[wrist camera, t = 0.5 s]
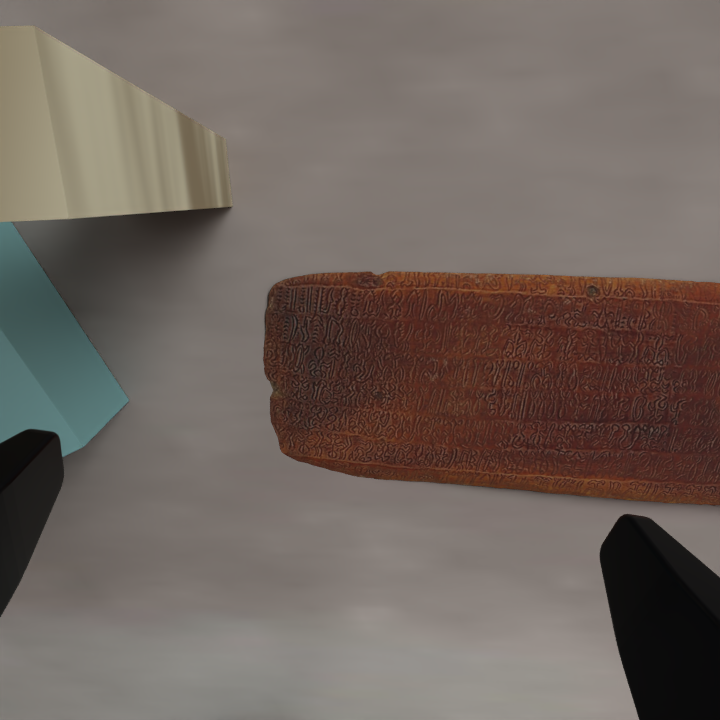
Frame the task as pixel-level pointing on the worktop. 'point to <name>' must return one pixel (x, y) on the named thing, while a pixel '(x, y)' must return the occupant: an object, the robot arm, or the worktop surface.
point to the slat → (95, 140)
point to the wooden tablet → (501, 381)
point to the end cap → (47, 357)
